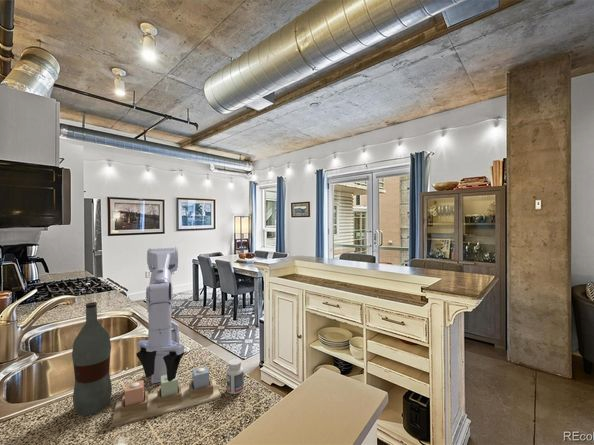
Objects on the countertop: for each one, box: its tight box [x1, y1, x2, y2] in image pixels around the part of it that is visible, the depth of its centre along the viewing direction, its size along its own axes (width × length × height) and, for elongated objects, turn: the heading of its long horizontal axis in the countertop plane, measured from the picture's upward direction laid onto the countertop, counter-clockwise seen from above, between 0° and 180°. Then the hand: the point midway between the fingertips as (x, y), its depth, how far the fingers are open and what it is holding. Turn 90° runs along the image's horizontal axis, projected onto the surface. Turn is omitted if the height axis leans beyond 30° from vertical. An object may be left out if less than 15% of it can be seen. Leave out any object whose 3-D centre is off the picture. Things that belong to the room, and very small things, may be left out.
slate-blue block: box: [192, 365, 210, 389], centre depth 90 cm, size 4×4×5 cm
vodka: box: [71, 301, 113, 417], centre depth 84 cm, size 9×9×30 cm
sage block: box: [160, 372, 179, 398], centre depth 87 cm, size 4×4×5 cm
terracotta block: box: [124, 379, 145, 407], centre depth 83 cm, size 4×4×5 cm
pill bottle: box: [225, 358, 245, 395], centre depth 92 cm, size 5×5×9 cm
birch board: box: [111, 375, 222, 428], centre depth 87 cm, size 11×28×3 cm, turn 116°
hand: (160, 377), depth 80 cm, fingers open, 7 cm apart
